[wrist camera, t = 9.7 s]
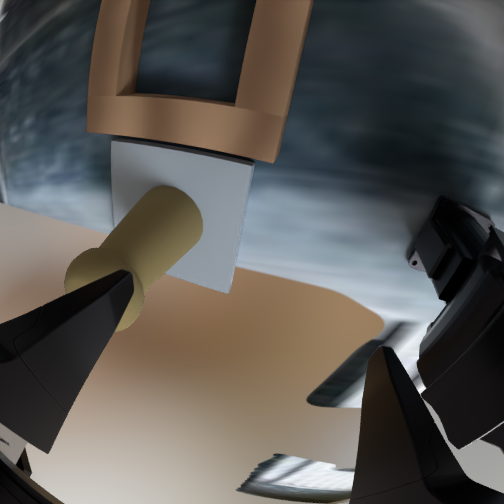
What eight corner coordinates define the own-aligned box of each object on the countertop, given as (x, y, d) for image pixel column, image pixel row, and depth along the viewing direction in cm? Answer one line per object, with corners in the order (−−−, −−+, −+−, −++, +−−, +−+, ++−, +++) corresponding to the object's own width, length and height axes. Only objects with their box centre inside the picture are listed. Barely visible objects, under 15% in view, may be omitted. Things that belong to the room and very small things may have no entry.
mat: (255, 162, 19) (252, 166, 18) (231, 287, 26) (228, 293, 25) (118, 137, 20) (111, 140, 19) (122, 251, 27) (117, 257, 26)
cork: (128, 211, 23) (42, 289, 14) (168, 170, 20) (65, 246, 11) (172, 261, 25) (106, 354, 16) (218, 229, 22) (150, 335, 13)
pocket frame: (321, -34, 10) (321, -48, 8) (278, 154, 19) (273, 163, 17) (130, -30, 11) (112, -37, 9) (105, 125, 20) (86, 132, 18)
